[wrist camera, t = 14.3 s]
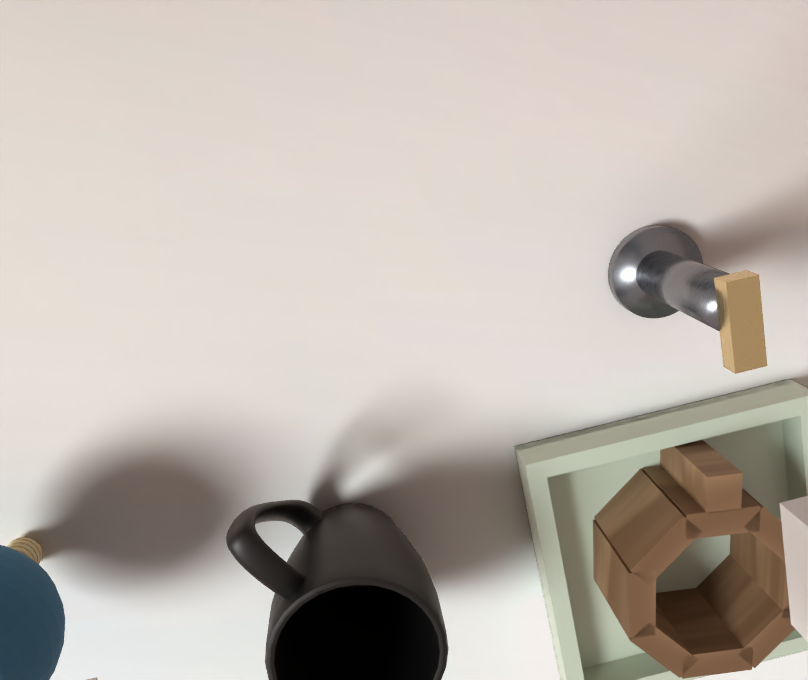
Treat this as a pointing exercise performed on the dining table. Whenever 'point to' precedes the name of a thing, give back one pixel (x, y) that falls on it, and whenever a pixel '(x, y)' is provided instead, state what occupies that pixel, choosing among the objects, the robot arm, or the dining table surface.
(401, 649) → the mug
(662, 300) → the door handle
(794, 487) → the tray
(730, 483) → the ring
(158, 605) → the dining table surface
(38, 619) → the light bulb
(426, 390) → the dining table surface
